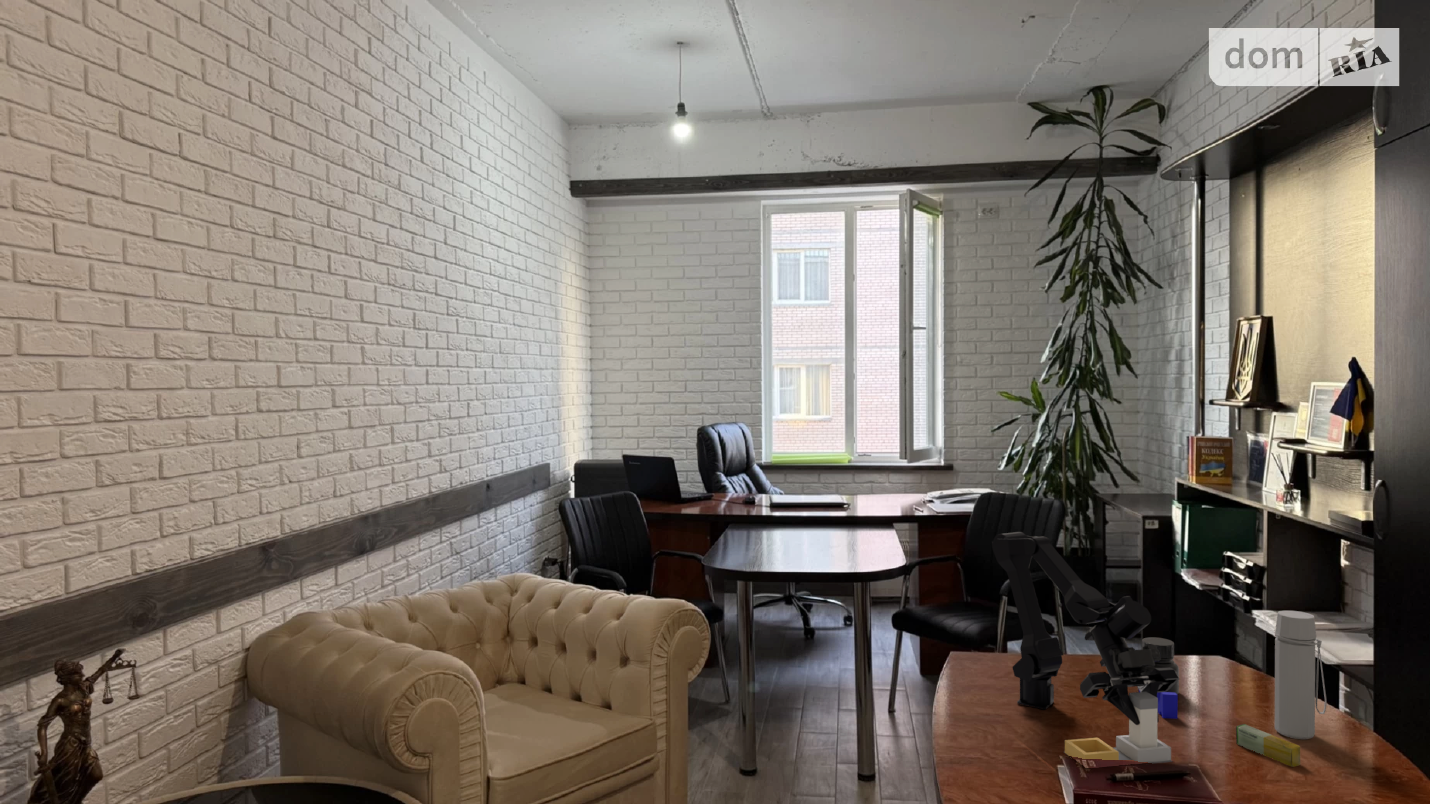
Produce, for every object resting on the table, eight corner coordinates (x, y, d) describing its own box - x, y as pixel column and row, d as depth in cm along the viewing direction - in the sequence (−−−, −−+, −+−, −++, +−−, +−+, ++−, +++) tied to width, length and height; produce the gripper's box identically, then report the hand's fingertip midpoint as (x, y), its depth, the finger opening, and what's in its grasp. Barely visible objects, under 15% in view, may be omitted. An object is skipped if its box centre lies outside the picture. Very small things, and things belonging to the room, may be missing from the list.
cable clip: (1138, 701, 208) (1139, 675, 208) (1159, 702, 207) (1159, 676, 207) (1155, 721, 196) (1155, 693, 196) (1177, 722, 195) (1177, 694, 195)
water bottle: (1278, 738, 185) (1278, 617, 185) (1270, 724, 193) (1270, 608, 192) (1331, 744, 182) (1331, 621, 181) (1321, 730, 189) (1321, 611, 189)
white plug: (1140, 755, 175) (1140, 699, 175) (1128, 747, 179) (1128, 692, 178) (1157, 754, 176) (1157, 698, 175) (1145, 746, 179) (1145, 691, 179)
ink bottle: (1182, 689, 215) (1182, 639, 214) (1179, 701, 207) (1179, 649, 207) (1138, 682, 220) (1138, 633, 220) (1132, 693, 212) (1132, 643, 212)
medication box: (1234, 744, 183) (1234, 725, 183) (1244, 742, 184) (1244, 723, 184) (1292, 768, 172) (1291, 747, 172) (1301, 765, 173) (1301, 745, 173)
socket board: (1086, 772, 171) (1086, 755, 171) (1063, 754, 179) (1063, 739, 179) (1172, 764, 174) (1172, 748, 174) (1146, 747, 182) (1146, 732, 182)
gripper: (1087, 633, 179) (1121, 708, 168) (1173, 627, 182) (1211, 701, 171) (1066, 660, 187) (1096, 733, 176) (1148, 654, 190) (1183, 726, 179)
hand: (1147, 723), depth 176 cm, fingers closed on white plug, 4 cm apart
